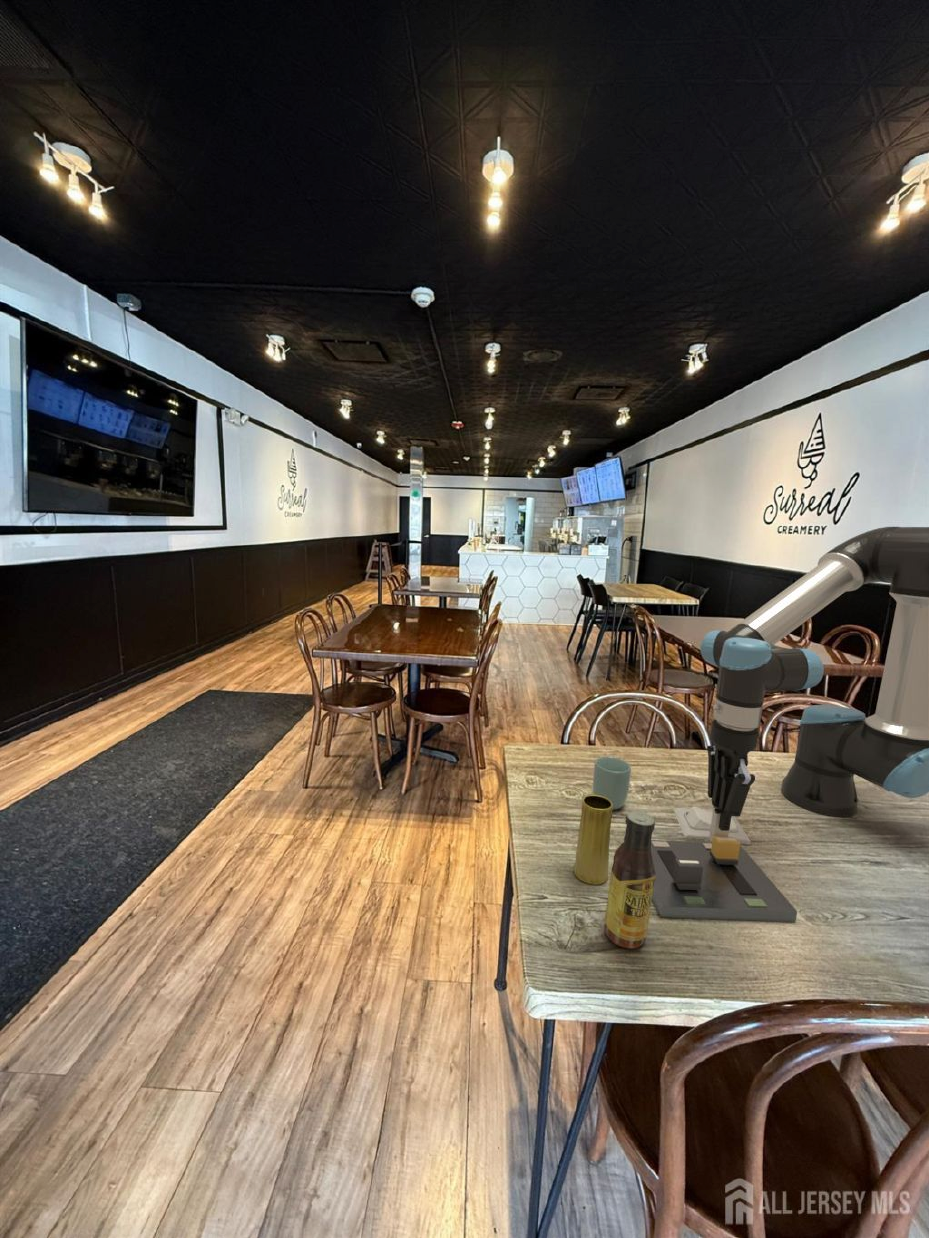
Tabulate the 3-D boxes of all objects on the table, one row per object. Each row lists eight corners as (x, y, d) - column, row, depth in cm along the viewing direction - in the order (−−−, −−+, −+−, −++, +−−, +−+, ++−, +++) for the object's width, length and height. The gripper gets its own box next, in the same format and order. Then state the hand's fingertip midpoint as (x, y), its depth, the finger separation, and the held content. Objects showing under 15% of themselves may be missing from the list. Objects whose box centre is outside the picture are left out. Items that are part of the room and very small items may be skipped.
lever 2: (730, 854, 96) (733, 834, 95) (738, 864, 93) (741, 844, 92) (709, 853, 96) (711, 833, 95) (716, 864, 93) (719, 843, 92)
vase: (614, 883, 90) (621, 809, 88) (582, 887, 89) (589, 812, 86) (598, 861, 96) (605, 791, 93) (568, 864, 95) (574, 794, 92)
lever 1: (693, 878, 89) (696, 856, 88) (701, 890, 86) (704, 867, 85) (671, 877, 89) (673, 855, 88) (678, 889, 86) (681, 867, 85)
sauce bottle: (622, 957, 75) (635, 834, 71) (595, 926, 80) (606, 811, 77) (656, 944, 77) (671, 825, 74) (628, 915, 83) (640, 803, 79)
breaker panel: (737, 852, 100) (738, 842, 100) (795, 922, 83) (797, 910, 82) (626, 848, 100) (627, 838, 100) (660, 917, 83) (662, 905, 82)
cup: (614, 818, 111) (618, 775, 109) (584, 803, 116) (588, 762, 115) (633, 806, 116) (637, 765, 114) (604, 792, 122) (607, 753, 120)
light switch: (673, 797, 115) (734, 801, 113) (672, 814, 116) (732, 818, 114) (685, 824, 105) (752, 829, 102) (683, 842, 105) (750, 848, 103)
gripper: (698, 709, 98) (683, 820, 103) (732, 737, 86) (714, 863, 90) (737, 711, 98) (721, 822, 103) (777, 739, 85) (756, 865, 90)
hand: (717, 841), depth 96 cm, fingers closed
